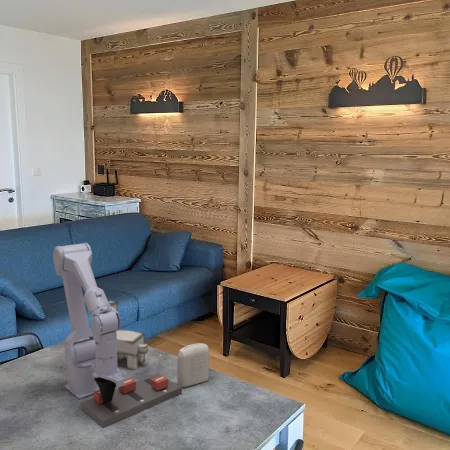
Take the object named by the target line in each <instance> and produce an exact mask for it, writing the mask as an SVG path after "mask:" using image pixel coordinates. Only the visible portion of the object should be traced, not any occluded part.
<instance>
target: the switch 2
mask: <svg viewBox="0 0 450 450" xmlns="http://www.w3.org/2000/svg"><path fill="white" fill-rule="evenodd" d="M118 388H119V391H121V392H122V393H124V394H125V393H127V392H130V391H132V390H135V389H136V380H134V379H133V378H132V377H129V378H126V379H124V385H123V386H121V387H117V389H118Z"/></svg>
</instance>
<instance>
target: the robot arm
mask: <svg viewBox="0 0 450 450" xmlns="http://www.w3.org/2000/svg"><path fill="white" fill-rule="evenodd" d="M52 253H53V254H52V259H53V264H54V265H53V266H54V271H55V273H56V276H60V277H61V279H62V283H63V288H64V293H65V299H66V305H67V310H68V314H69V315H68V316H69V321H70V326H71V332H70V333H69V334H68V336H67V337H66V338H65V339H64V357H65V360H66V362H67V366H66V367H67V368H66V371H67V373H66V374H67V384H65V385H64V387H65V389H67V390H68V391H69V392H70V393H71V394H73V395H74V396H75V398H76V397H77V399H79V400H80V399H83V398H86V397H88V396H91V395H93V392H94V391H97V390H99V389H100V392H101V396H102V399H103V402H105V403H108V402H110V401H112V399H113V395H114V391H115V389H117V388H118V387H121V386H123V385H124V380H125V378H124V376H123V375H122V373H121V371H120V369H119V368H118V367H119V366H118V364H117V332H116V331H118V330H121V326H122V325H121V321H122V320H121V317H120V314H119V311H118V312H117V311H116V310H115V309H114V308H113V307H110V305H109V302H110V301H109V300H108V298H107V295H106V294H105V291H104V289H102V288H100V287H98V285H97V282H96V279H95V275H94V272H93V269H92V267H91V266H92V262H93V252H92V247H91V246H90V245H89V243H88V242H82V243H77V244H69V245H61V246H59V245H57V246H55V247H54V249H53V252H52ZM83 291H84V294H83ZM86 308H87V309H86ZM87 311H88V313H89V316H90V324H89V320H88V314H87ZM79 340H80V341H79Z"/></svg>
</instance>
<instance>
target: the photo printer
mask: <svg viewBox="0 0 450 450" xmlns="http://www.w3.org/2000/svg"><path fill="white" fill-rule="evenodd" d="M177 351H178V352H177V365H176V366H177V368H176V369H177V370H176V372H177V375H176V376H177V379H176V380H177V385H179V386H180V387H182V388H188V387H189V386H193V385H197V384H200V383H205V382H207V381H209V376H210V375H209V371H210V370H209V369H210V368H209V367H210V365H209V364H210V349H209V346H208V345H207V344H206V343H202V342H201V343H200V342H198V343H192V344H189V345H185V346H183V347H182V348H180V349H178V350H177Z"/></svg>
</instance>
